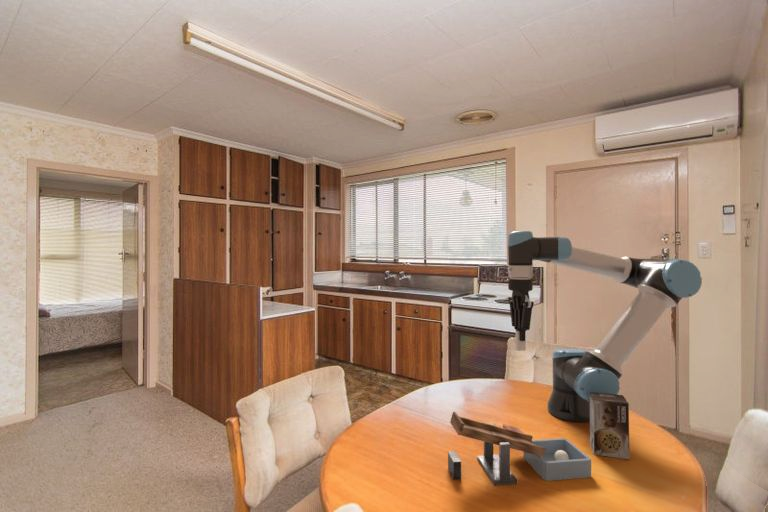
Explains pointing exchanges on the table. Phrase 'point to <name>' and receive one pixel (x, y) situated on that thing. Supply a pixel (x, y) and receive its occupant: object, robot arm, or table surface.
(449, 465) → the fulcrum
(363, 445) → the table surface
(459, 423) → the lever
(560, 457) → the ball
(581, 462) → the dish
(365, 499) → the table surface
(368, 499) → the table surface
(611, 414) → the coffee box
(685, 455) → the table surface
